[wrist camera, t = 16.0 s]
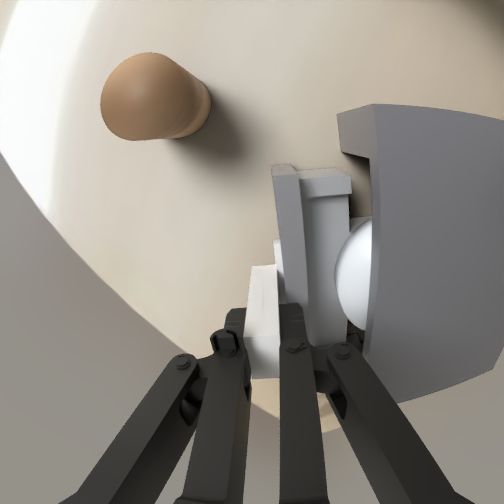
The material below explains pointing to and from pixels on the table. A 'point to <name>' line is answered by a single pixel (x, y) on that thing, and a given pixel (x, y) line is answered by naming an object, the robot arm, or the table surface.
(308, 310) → the grey drawer
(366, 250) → the lid
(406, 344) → the housing
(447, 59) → the table surface
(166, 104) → the brown rounded peg
